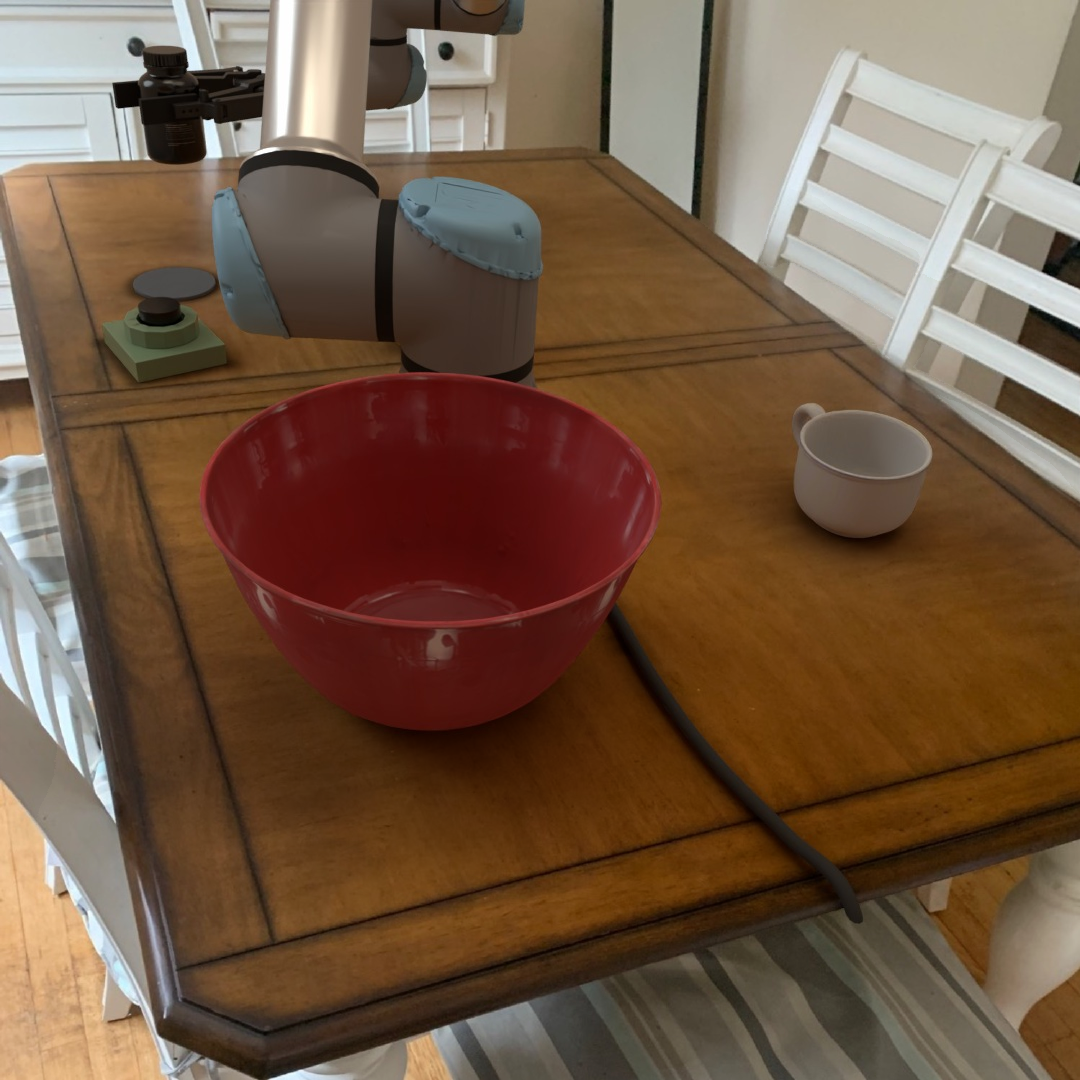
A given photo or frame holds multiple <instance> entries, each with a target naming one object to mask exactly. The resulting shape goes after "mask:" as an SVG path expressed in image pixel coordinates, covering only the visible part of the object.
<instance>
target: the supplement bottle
mask: <svg viewBox="0 0 1080 1080" xmlns="http://www.w3.org/2000/svg"><path fill="white" fill-rule="evenodd" d="M142 60H143V61H142V65H143V68H144V69H146V72H144V73H143V74H142V75H140V77H139V78H138V80H139V81H138V92H139V99H140V98H150V97H160V96H169V95H179V94H189V93H195V94H197V98H198V101H199V100H200V96H199V89H200V86H199V82H198V80H197V79H196V77H195V76H194V75H192V74H191V73H189V72H187V71H188V68H190V63H189V61H188V51H187V49H186V48H184V47H181V46H177V45H152V46H151V45H150V46H147V47H144V48H143V49H142ZM199 118H200V119H197V120H188V121H180V122H171V123H162V124H154V125H145V126H144V125H143V124H142V128H143V134H144V141H145V142H144V143H145V146H146V147H145V150H146V153H147V154H146V155H147V156H148V158H149V159H150V160H151V161H153V162H155V163H157V164H158V163H159V164H162V165H163V164H164V165H171V166H173V165H175V166H176V165H177V166H181V165H190V164H195V163H198V162H202V160H204V159H205V158H206V156H207V141H206V132H205V122H204V121H205V120H203V119H202V116H200V117H199Z"/></svg>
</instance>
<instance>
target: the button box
mask: <svg viewBox="0 0 1080 1080" xmlns="http://www.w3.org/2000/svg"><path fill="white" fill-rule="evenodd" d="M180 307H181V315H182V321H181V322H179V323H177V324H175V325H171V326H166V327H150V326H146V325H143V324H141V323H140V318H139V311H138V306H137V307H134V308H133V309H130V310H129V311H127V312H126V314H125V315H124V318H123V319H119V320H113V321H108V322H107V321H106V322H102V323H101V327H102V331H103V332H102V333H103V339H104V344H105V345H106V346H107V347H108V348H109V349H110V351H111V352H112V353H113V354H114V355H115V357H116V358H117V359H118V360H119V361H120V363H121V364H122V365H123V366H124V368H125V369H126V370H127V371H128V372H129V374H131V376H132V377H133V378H134V379H135V380H136V381H137V383H139V384H140V383H144V382H145V383H146V382H148V381H154V380H159V379H163V378H167V377H173V376H177V375H181V374H187V373H191V372H195V371H196V372H197V371H201V370H205V369H210V368H214V367H219V366H223V365H227V363H228V362H227V360H228V359H227V351H226V344H225V343H224V342H223V341H222V340H221V339H220V338H219V337H218V336H217V335H216V334H215V333H214V332H213V331H212V330H211V328H209V327H208V326H207V325H206V324H205V323H204V322H203V321H202V320H201V319H200V318H199V314H198V313H197V312H196V311H195V310H194V309H193V308H192V307H190V306H187V305H184V304H180Z"/></svg>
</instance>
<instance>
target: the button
mask: <svg viewBox="0 0 1080 1080" xmlns="http://www.w3.org/2000/svg"><path fill="white" fill-rule="evenodd" d="M180 305H181V302H180V301H178V300H176V299H173V298H169V297H153V298H145V299H142V300H141V301H140V302H139V303H138V304H137V307H138V311H139V318H140V323H141V324H143V325H146V326H150V327H166V326H171V325H175V324H177V323H179V322H181V321H182V315H181V307H180Z"/></svg>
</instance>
